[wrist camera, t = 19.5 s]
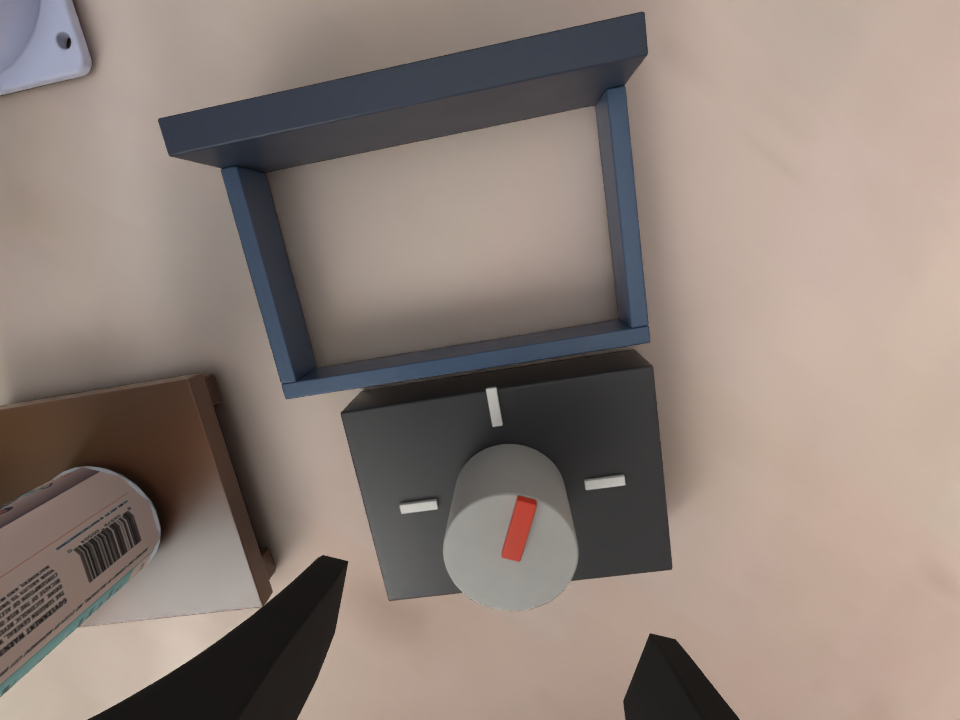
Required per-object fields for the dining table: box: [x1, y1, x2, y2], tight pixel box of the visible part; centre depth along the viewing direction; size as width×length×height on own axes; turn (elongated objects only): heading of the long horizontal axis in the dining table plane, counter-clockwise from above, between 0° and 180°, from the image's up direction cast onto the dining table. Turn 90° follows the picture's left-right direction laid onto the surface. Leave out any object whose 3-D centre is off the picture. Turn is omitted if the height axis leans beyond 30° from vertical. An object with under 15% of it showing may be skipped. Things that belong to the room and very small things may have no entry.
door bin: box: [158, 12, 650, 399], centre depth 16 cm, size 9×13×4 cm
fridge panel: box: [341, 350, 672, 601], centre depth 19 cm, size 11×8×3 cm
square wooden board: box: [0, 373, 276, 628], centre depth 21 cm, size 10×10×2 cm
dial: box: [443, 444, 579, 611], centre depth 16 cm, size 4×4×4 cm
